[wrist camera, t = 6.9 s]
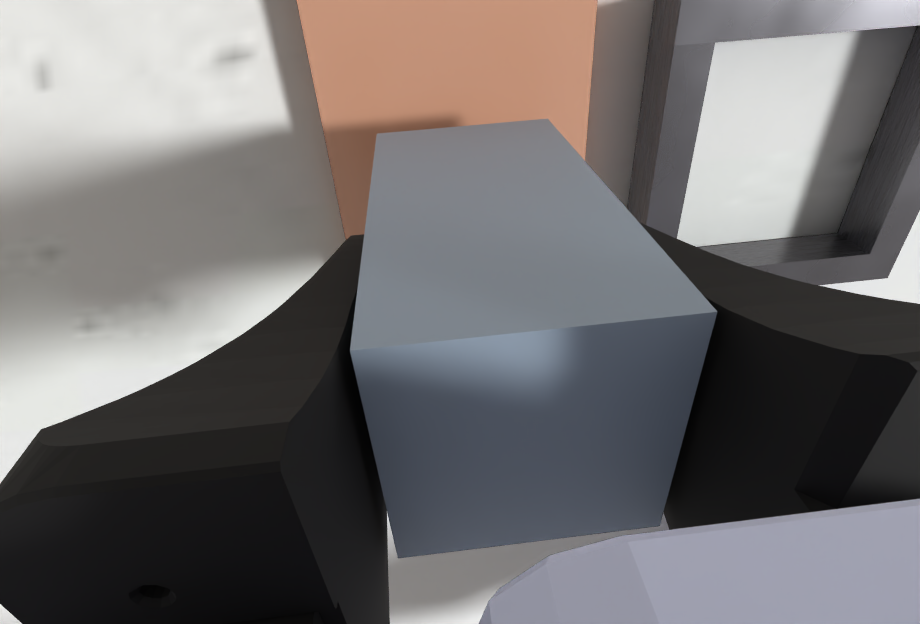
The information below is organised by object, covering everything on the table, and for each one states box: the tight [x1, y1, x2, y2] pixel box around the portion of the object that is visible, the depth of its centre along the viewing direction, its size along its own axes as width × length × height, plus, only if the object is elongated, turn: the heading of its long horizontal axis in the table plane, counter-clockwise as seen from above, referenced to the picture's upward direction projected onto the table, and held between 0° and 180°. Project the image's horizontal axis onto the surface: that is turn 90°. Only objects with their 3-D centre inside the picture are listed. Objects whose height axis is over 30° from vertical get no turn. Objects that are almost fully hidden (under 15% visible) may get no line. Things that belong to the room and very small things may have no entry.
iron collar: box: [627, 0, 920, 285], centre depth 15 cm, size 8×8×2 cm
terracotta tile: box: [297, 0, 597, 240], centre depth 15 cm, size 16×7×1 cm, turn 3°
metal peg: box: [350, 119, 717, 558], centre depth 10 cm, size 4×4×8 cm
